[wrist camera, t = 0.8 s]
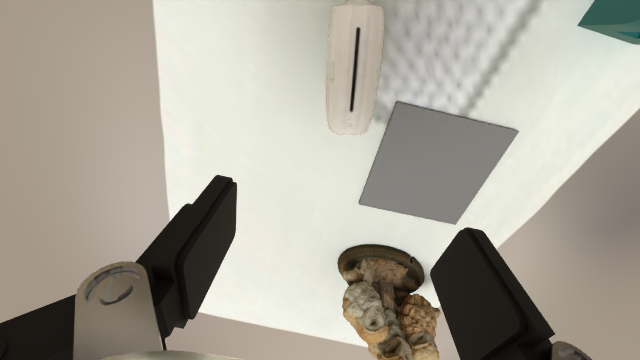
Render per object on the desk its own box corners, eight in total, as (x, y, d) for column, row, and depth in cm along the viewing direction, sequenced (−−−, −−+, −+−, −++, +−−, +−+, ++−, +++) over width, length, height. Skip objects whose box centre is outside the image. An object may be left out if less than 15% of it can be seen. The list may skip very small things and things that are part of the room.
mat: (396, 101, 30) (397, 102, 30) (516, 129, 31) (519, 131, 31) (358, 202, 38) (359, 204, 38) (454, 222, 39) (455, 224, 39)
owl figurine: (442, 261, 44) (493, 373, 30) (409, 296, 51) (438, 403, 36) (350, 234, 42) (358, 341, 28) (327, 274, 48) (324, 379, 34)
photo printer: (361, 107, 31) (374, 146, 20) (327, 105, 31) (323, 144, 20) (372, 8, 25) (398, -9, 15) (331, 7, 26) (328, -11, 15)
